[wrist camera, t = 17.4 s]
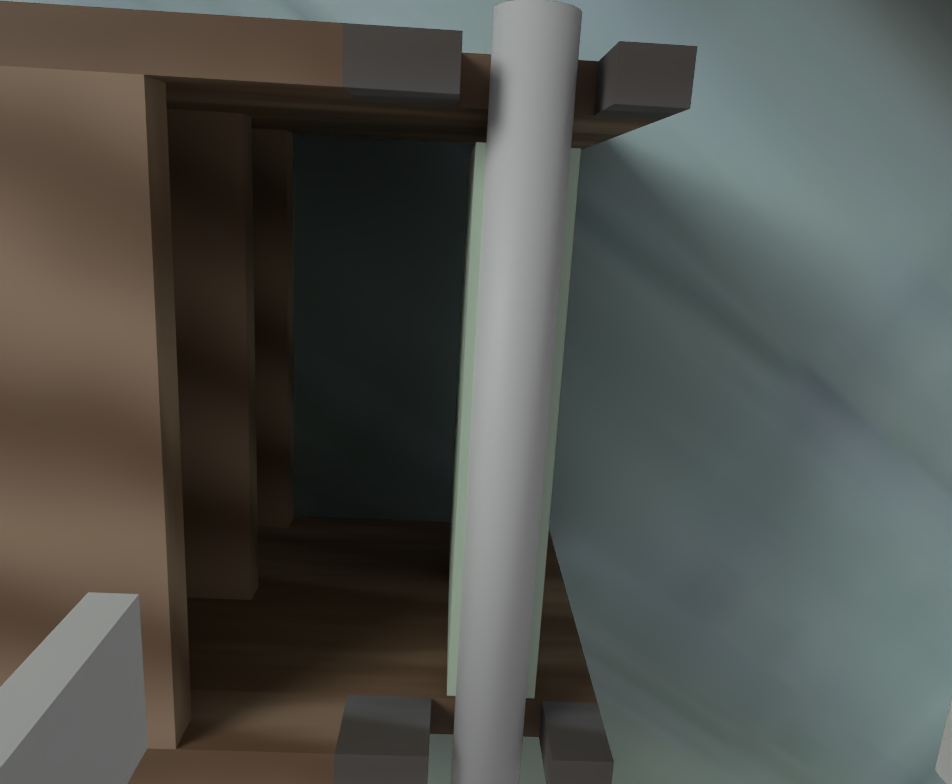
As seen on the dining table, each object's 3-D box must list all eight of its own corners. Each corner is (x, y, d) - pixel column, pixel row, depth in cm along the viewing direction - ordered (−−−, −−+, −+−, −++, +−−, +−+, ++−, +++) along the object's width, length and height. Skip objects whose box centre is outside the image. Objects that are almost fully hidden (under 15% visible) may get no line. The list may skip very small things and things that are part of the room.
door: (523, 598, 40) (559, 811, 26) (446, 596, 40) (441, 808, 26) (563, 84, 34) (638, 6, 20) (472, 78, 33) (484, -4, 20)
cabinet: (546, 551, 43) (609, 800, 25) (147, 535, 42) (-78, 782, 24) (582, 117, 37) (697, 46, 20) (123, 89, 36) (-192, -12, 19)
